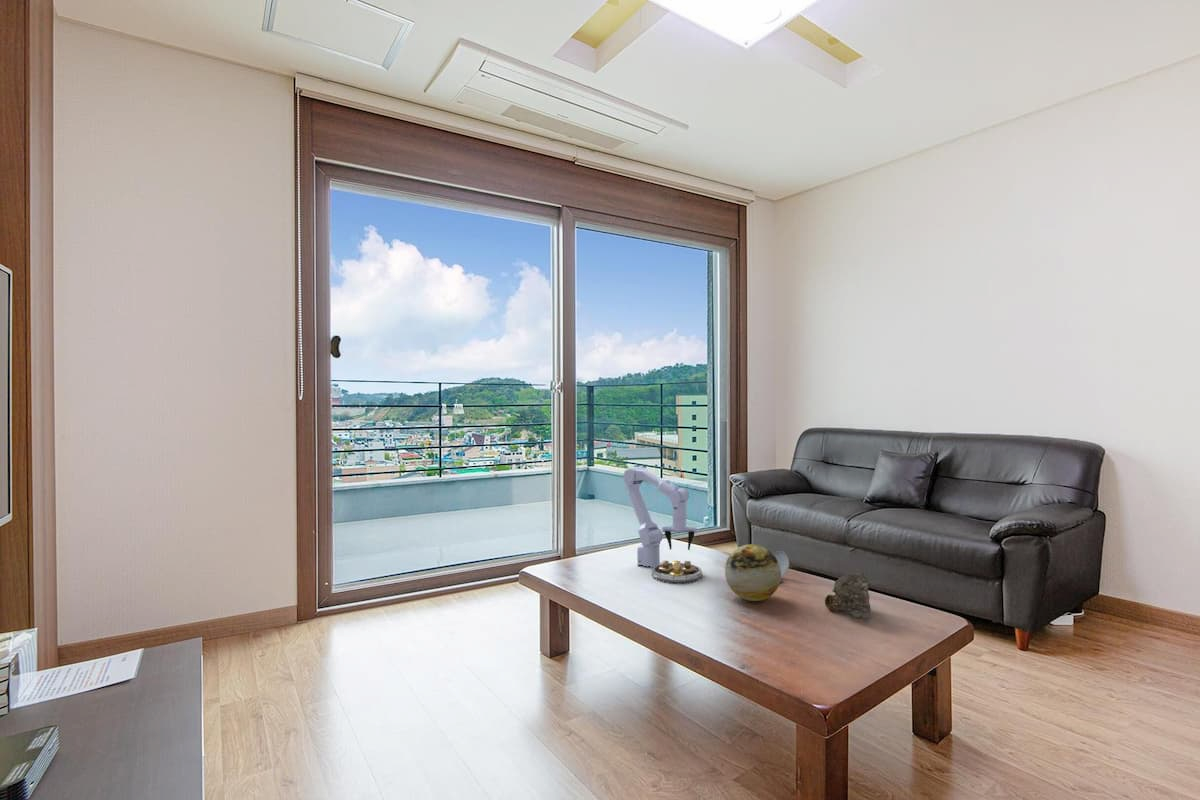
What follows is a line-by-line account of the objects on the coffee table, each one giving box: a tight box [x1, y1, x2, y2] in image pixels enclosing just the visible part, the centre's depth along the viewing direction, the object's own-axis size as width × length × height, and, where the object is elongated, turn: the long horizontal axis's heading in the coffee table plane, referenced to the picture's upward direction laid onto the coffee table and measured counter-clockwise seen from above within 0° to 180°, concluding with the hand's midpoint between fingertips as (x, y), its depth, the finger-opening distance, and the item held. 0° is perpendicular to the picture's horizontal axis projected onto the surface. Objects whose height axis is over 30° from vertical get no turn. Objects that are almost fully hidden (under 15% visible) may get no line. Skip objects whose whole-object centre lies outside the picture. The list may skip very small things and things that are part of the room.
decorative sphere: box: [724, 543, 782, 602], centre depth 222 cm, size 20×20×20 cm
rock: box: [824, 572, 873, 620], centre depth 206 cm, size 18×14×15 cm
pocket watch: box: [772, 550, 790, 583], centre depth 245 cm, size 10×11×15 cm
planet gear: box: [669, 560, 684, 576], centre depth 247 cm, size 6×6×6 cm
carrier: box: [651, 560, 703, 584], centre depth 253 cm, size 21×21×5 cm
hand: (679, 549), depth 259 cm, fingers open, 7 cm apart
